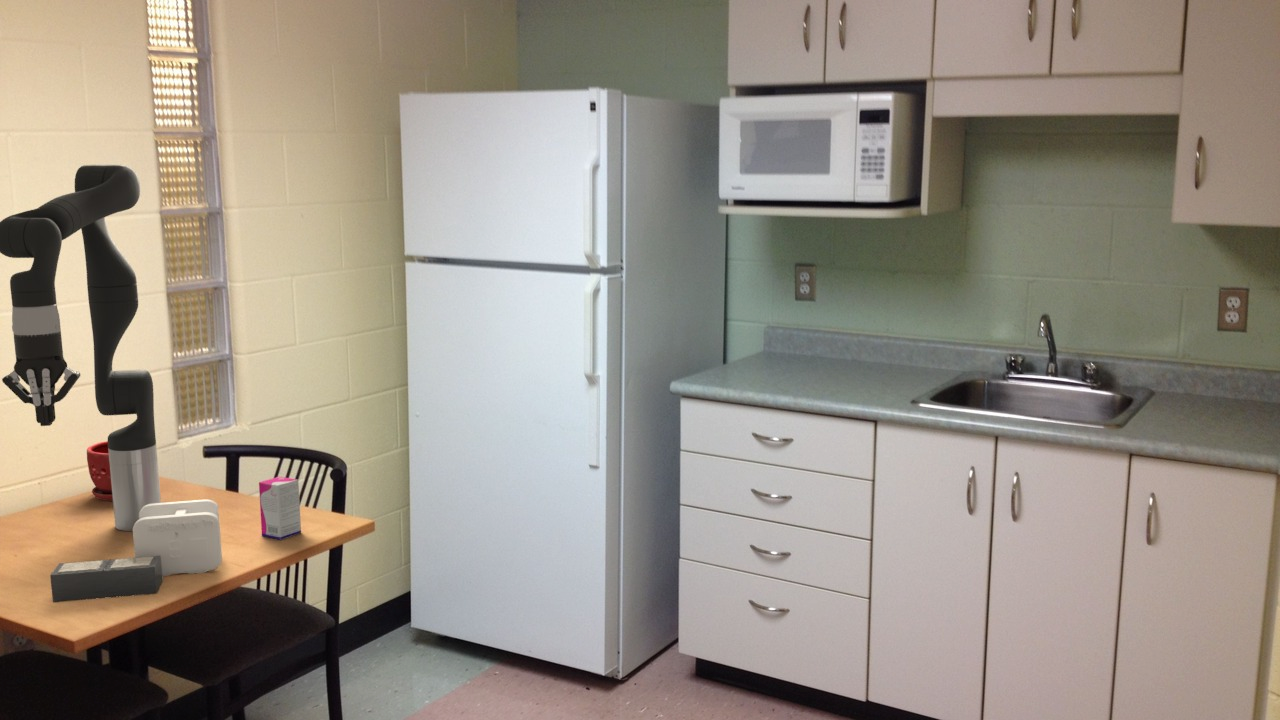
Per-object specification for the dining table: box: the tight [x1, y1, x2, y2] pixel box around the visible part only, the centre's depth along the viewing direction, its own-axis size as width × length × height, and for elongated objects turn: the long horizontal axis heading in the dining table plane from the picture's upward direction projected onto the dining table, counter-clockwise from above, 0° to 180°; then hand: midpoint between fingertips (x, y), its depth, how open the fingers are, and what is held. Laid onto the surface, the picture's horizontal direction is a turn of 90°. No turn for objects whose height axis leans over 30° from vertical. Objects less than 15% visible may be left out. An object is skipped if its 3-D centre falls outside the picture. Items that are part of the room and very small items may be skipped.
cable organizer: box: [132, 498, 223, 578], centre depth 215 cm, size 15×11×12 cm
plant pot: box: [86, 440, 113, 502], centre depth 262 cm, size 13×13×12 cm
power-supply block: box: [49, 556, 164, 603], centre depth 203 cm, size 6×17×5 cm, turn 103°
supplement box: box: [258, 476, 302, 541], centre depth 234 cm, size 6×6×12 cm
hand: (46, 424), depth 206 cm, fingers closed
